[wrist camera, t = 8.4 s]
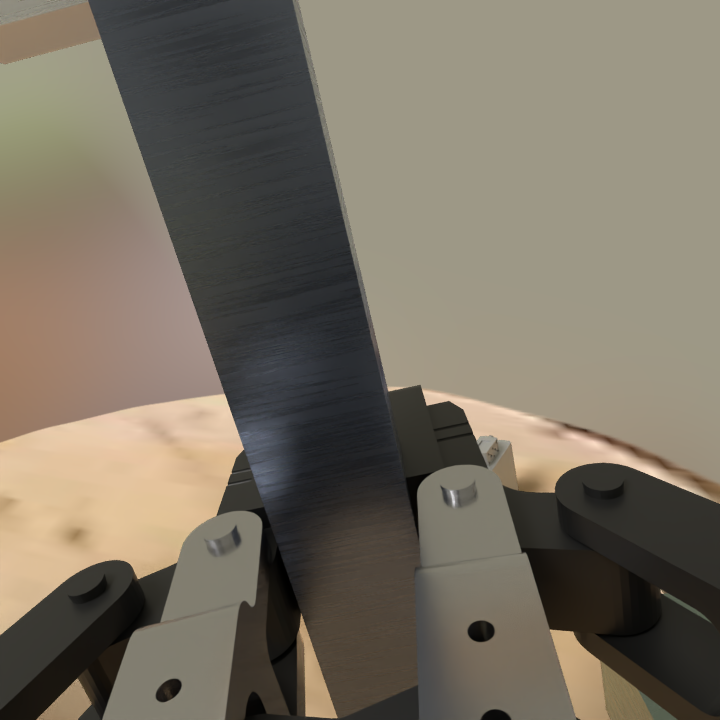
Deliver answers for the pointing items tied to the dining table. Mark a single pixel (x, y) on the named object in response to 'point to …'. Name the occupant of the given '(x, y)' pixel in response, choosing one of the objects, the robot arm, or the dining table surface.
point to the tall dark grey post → (280, 311)
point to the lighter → (499, 459)
